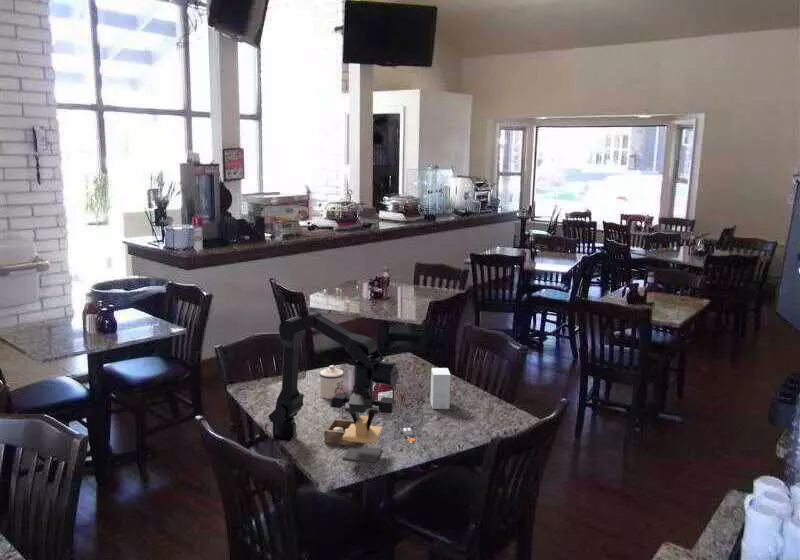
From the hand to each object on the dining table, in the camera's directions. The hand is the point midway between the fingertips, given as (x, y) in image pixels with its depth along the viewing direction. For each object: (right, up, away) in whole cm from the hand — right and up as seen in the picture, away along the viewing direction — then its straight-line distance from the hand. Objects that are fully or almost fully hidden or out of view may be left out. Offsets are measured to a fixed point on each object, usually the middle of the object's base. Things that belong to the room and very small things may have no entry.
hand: (362, 429), depth 204 cm
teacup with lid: (-14, +2, +52) cm, 54 cm away
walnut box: (-7, -6, +13) cm, 16 cm away
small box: (+26, -1, +43) cm, 50 cm away
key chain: (+14, -7, +15) cm, 22 cm away
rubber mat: (0, -8, +2) cm, 8 cm away
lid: (0, -3, +1) cm, 3 cm away
